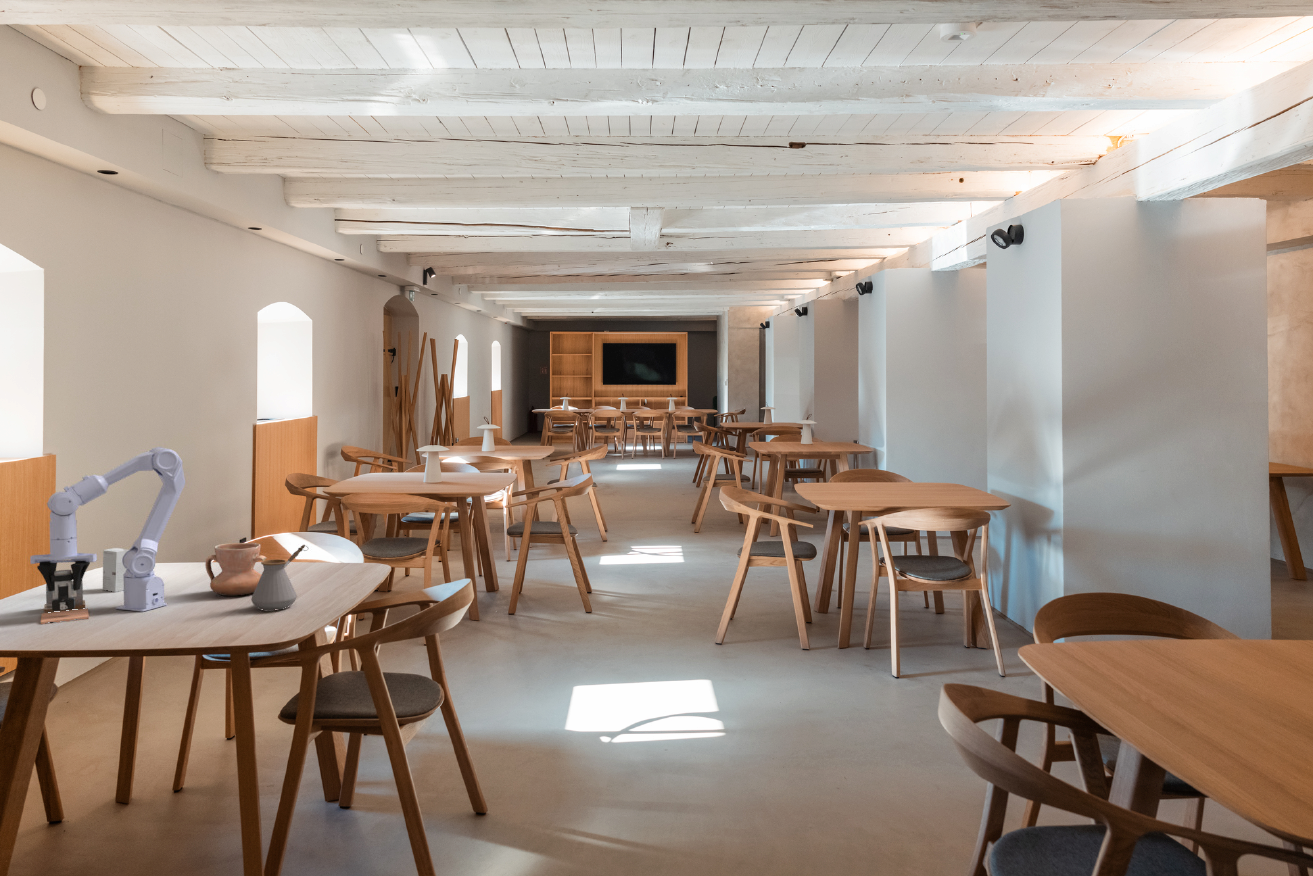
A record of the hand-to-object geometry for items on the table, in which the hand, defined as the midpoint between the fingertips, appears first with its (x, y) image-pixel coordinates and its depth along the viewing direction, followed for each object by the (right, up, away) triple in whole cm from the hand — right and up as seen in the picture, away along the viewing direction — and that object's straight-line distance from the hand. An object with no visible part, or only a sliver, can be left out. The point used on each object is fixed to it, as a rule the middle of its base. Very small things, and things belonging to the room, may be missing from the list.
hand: (64, 590), depth 218 cm
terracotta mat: (0, -7, 0) cm, 7 cm away
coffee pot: (+49, -7, +18) cm, 53 cm away
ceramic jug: (+30, -6, +29) cm, 42 cm away
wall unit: (-6, -7, +9) cm, 13 cm away
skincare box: (-7, -6, +32) cm, 33 cm away
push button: (0, -5, -1) cm, 5 cm away
